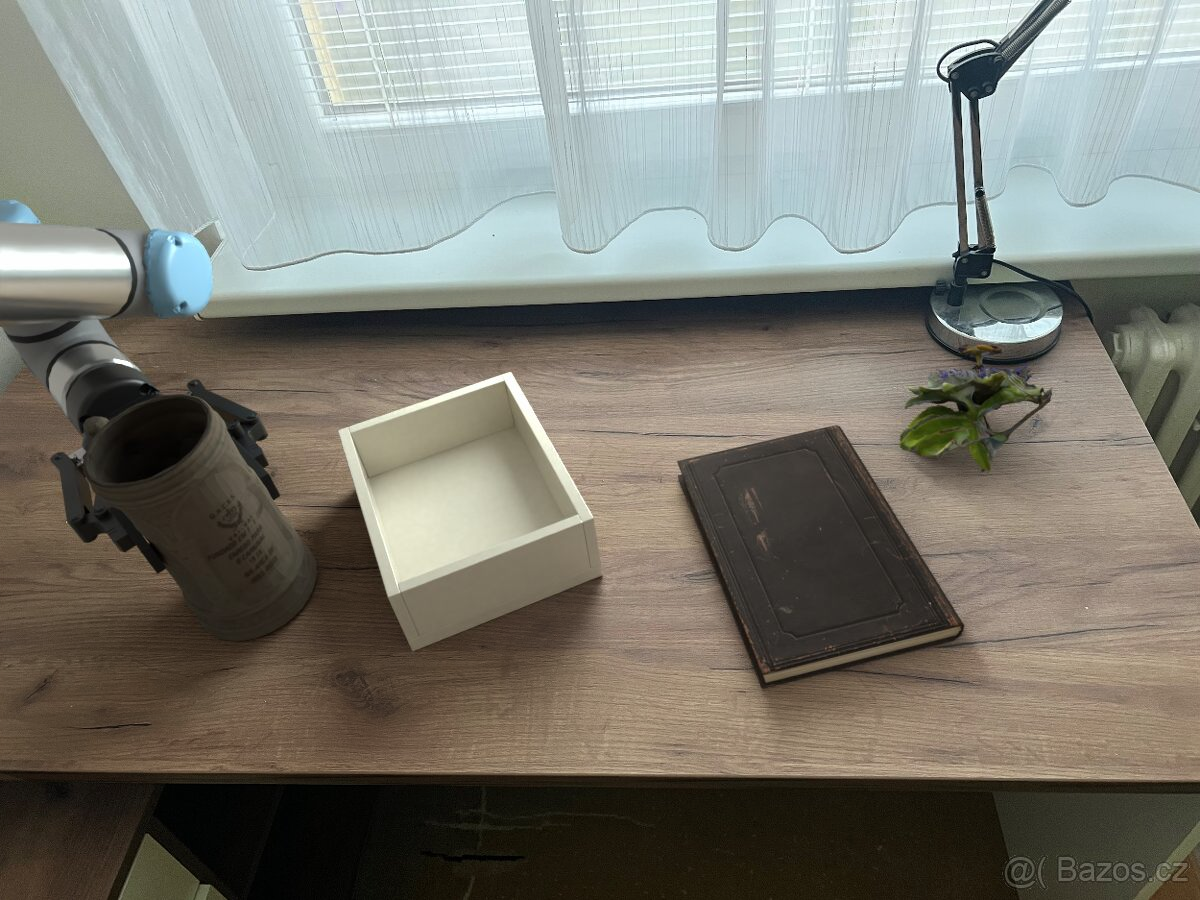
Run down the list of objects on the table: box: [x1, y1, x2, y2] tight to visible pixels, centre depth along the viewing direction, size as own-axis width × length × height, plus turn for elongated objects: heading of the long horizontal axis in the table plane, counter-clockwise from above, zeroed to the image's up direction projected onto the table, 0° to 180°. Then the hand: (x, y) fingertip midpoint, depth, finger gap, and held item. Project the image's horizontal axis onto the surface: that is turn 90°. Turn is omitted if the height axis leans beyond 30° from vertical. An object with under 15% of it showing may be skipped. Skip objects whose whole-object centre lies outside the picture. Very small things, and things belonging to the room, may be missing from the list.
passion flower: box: [899, 343, 1053, 473], centre depth 79 cm, size 11×11×12 cm
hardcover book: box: [676, 424, 965, 689], centre depth 74 cm, size 16×23×2 cm
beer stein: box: [83, 393, 318, 642], centre depth 71 cm, size 15×11×20 cm
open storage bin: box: [337, 371, 604, 652], centre depth 78 cm, size 17×21×8 cm
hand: (214, 522), depth 68 cm, fingers closed on beer stein, 9 cm apart
